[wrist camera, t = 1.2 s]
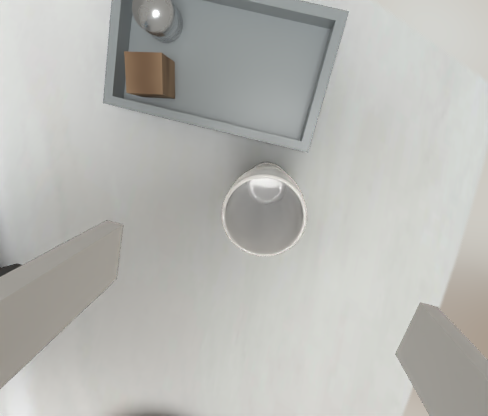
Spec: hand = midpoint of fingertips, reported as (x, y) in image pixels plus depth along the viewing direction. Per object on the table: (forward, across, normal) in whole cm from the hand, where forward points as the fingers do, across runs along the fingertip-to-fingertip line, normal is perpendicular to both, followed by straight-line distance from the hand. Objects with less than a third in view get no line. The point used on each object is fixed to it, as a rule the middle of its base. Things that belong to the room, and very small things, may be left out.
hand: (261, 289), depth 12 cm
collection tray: (+25, -9, +12) cm, 29 cm away
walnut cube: (+24, -16, +9) cm, 30 cm away
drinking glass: (+25, 0, 0) cm, 25 cm away
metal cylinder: (+24, -16, +15) cm, 33 cm away
